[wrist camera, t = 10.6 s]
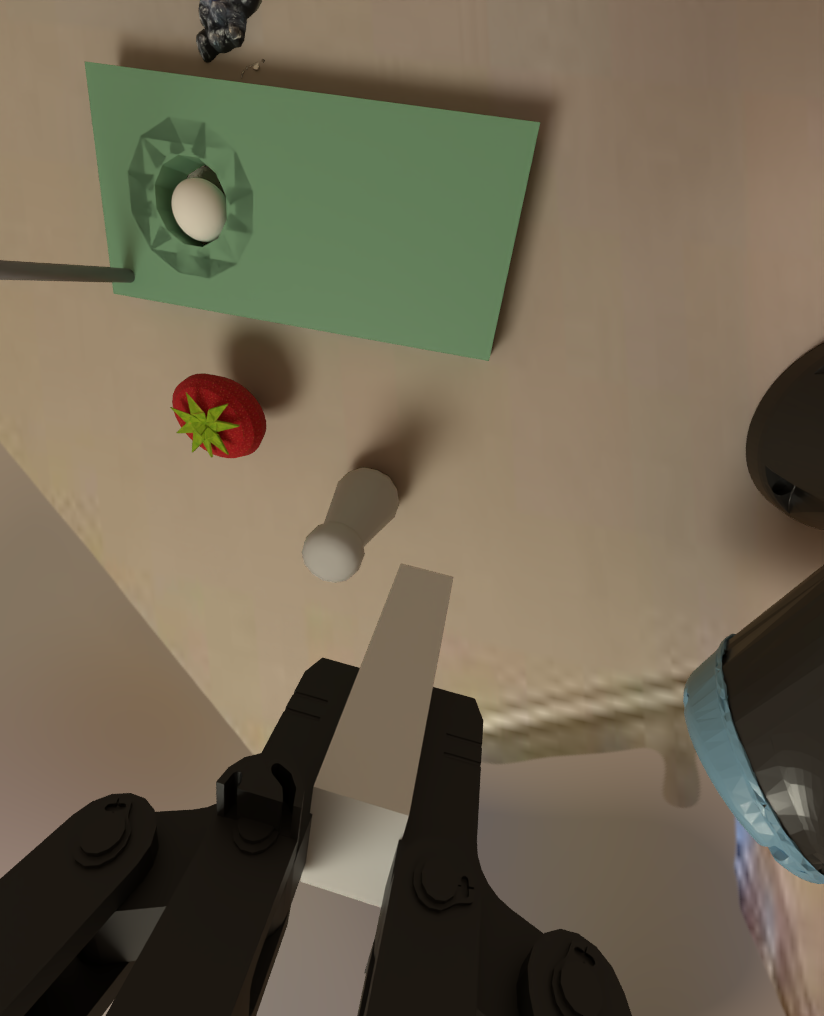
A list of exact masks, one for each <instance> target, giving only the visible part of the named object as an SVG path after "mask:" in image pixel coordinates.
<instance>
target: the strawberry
mask: <svg viewBox="0 0 824 1016" xmlns="http://www.w3.org/2000/svg"><path fill="white" fill-rule="evenodd" d="M172 403H173V408H172V407H170V408H171V409H172V410H173V411H174V413H175V416H176V418H177V420H178V422H179V424H180V426H181V427H182V428H181V429H180V430H179V431H178V432H177V433H186V434H187V435H188V436H189V437H190V438H191V439H192V440H193V443H192V452H194V451H195V450H196V449H197V448H198V447H199V446H200V447H201V448H203V449H204V450H206V451H208V453H209V455H210V456H211V457H213V454H214V455H217V456H220V457H225V458H237V457H242V456H246V455H249V454H251V453H253V452H255V450H256V449H257V448H258V447H259V445H260V443H261V441H262V439H263V437H264V435H265V432H266V419H265V415H264V412H263V410H262V408H261V406H260V405H259V403H258V401H257V400H256V399H255V398H254V396H253V395H252V394H251V393H250V392H249V391H248V390H247V389H246V388H244V387H243V386H242V385H240V384H239V383H237V382H235V381H233V380H231V379H228V378H225V377H221V376H216V375H210V374H195V375H192V376H189V377H188V378H187V379H185V380H184V381H182V382H181V383H180V384H179V385H178V386H177V387H176V389H175V391H174V393H173V400H172Z"/></svg>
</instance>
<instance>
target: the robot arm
mask: <svg viewBox="0 0 824 1016" xmlns="http://www.w3.org/2000/svg"><path fill="white" fill-rule="evenodd" d="M746 461H747V466H748V470H749V473H750V476H751V478H752V480H753V482H754V484H755V486H756V487H757V489H758V490H759V491H760V493H761V494H762V495H763V496H764V497H765V498H766V499H767V500H768V501H769V502H771V503H772V504H773V505H774V506H776V507H777V508H778V509H780V510H781V511H782V512H784V513H785V514H786V515H788V516H789V517H791V518H793V519H795V520H797V521H799V522H801V523H803V524H805V525H808V526H810V527H813V528H817V529H820V530H824V343H823V344H821V345H819V346H818V347H816V348H814V349H813V350H811V351H810V352H808V353H807V354H805V355H804V356H803V357H801V358H800V359H799V360H798V361H796V362H795V363H794V364H793V365H792V366H790V367H789V368H788V369H787V370H786V371H785V372H784V373H783V374H782V375H781V376H780V377H779V378H778V379H777V380H776V382H775V383H774V384H773V385H772V386H771V388H770V389H769V390H768V392H767V393H766V394H765V396H764V397H763V399H762V401H761V402H760V404H759V406H758V408H757V410H756V412H755V414H754V416H753V418H752V421H751V424H750V427H749V431H748V435H747V442H746ZM452 582H453V577H452V576H448V575H444V574H440V573H436V572H432V571H429V570H425V569H421V568H417V567H413V566H409V565H405V564H401V565H400V567H399V570H398V572H397V575H396V577H395V580H394V583H393V585H392V588H391V590H390V593H389V595H388V598H387V600H386V603H385V606H384V608H383V611H382V613H381V616H380V618H379V621H378V623H377V626H376V628H375V631H374V634H373V636H372V639H371V641H370V644H369V646H368V649H367V651H366V654H365V657H364V659H363V662H362V664H361V667H360V668H358V667H354V666H351V665H347V664H344V663H340V662H337V661H333V660H329V659H326V658H321V659H320V660H319V661H318V662H316V663H315V664H314V665H313V666H311V667H310V668H309V669H308V670H306V671H305V673H304V674H303V676H302V678H301V680H300V682H299V684H298V686H297V688H296V689H295V692H294V695H292V697H291V699H290V701H289V702H288V704H287V706H286V709H285V711H284V712H283V714H282V716H281V717H280V719H279V721H278V723H277V725H276V727H275V729H274V731H273V732H272V734H271V736H270V738H269V740H268V742H267V744H266V745H265V747H264V749H263V751H262V753H260V754H256V755H252V756H248V757H244V758H243V759H241V760H240V761H238V762H236V763H235V764H233V765H231V766H230V767H228V769H227V770H226V771H225V772H224V773H223V775H222V776H221V777H220V778H219V779H218V780H217V782H216V789H217V791H216V795H217V804H214V805H212V806H209V807H206V808H200V809H194V810H179V811H162V812H155V811H154V809H153V808H152V806H151V805H150V804H149V803H148V801H147V800H146V799H145V798H142V797H140V796H137V795H134V794H132V793H123V794H111V795H108V796H106V797H103V798H101V799H98V800H95V801H92V802H91V803H89V804H88V805H87V806H85V807H84V808H82V809H81V810H79V811H78V812H76V813H75V814H73V815H72V816H71V817H70V818H69V819H68V820H66V821H65V822H64V823H63V824H62V825H61V826H60V827H59V828H57V829H56V830H55V831H54V832H53V833H52V834H51V835H49V836H48V837H47V838H46V839H45V840H44V841H43V842H42V843H40V844H39V845H38V846H37V847H36V848H35V849H34V850H33V851H31V852H30V853H29V854H28V855H27V856H26V857H25V858H24V859H22V860H21V861H20V862H19V863H18V864H17V865H15V866H14V867H13V868H12V869H11V870H10V871H9V872H8V873H6V874H5V875H4V876H3V877H2V878H1V879H0V1016H102V1015H103V1014H104V1012H105V1011H106V1010H107V1008H108V1007H109V1006H110V1004H111V1003H112V1002H113V1003H112V1005H111V1007H110V1009H109V1011H108V1012H107V1014H106V1016H256V1014H257V1011H258V1008H259V1006H260V1003H261V1000H262V997H263V994H264V991H265V988H266V985H267V982H268V979H269V977H270V974H271V971H272V968H273V965H274V962H275V959H276V956H277V953H278V951H279V948H280V945H281V942H282V939H283V936H284V933H285V930H286V927H287V924H288V918H289V913H290V907H291V903H292V900H293V898H294V895H295V892H296V889H297V886H298V883H299V880H300V878H301V882H304V883H307V884H310V885H313V886H316V887H319V888H322V889H326V890H328V891H331V892H335V893H338V894H341V895H344V896H347V897H350V898H353V899H356V900H359V901H362V902H365V903H368V904H371V905H375V906H378V907H381V911H380V916H379V921H378V925H377V931H376V935H375V939H374V942H373V946H372V949H371V953H370V956H369V959H368V963H367V966H366V969H365V973H366V977H365V981H364V987H363V991H362V996H361V1001H360V1006H359V1010H358V1015H357V1016H632V1015H631V1012H630V1009H629V1006H628V1003H627V1000H626V997H625V993H624V991H623V989H622V987H621V985H620V983H619V981H618V978H617V976H616V974H615V972H614V970H613V968H612V966H611V965H610V964H609V962H608V961H607V960H606V959H605V957H604V956H603V955H602V953H601V952H600V951H599V950H598V949H597V947H596V946H594V945H593V944H592V943H590V942H589V941H588V940H586V939H584V937H582V936H580V935H579V934H577V933H574V932H570V931H566V930H563V929H559V930H554V931H551V932H547V933H544V934H543V933H542V932H541V931H539V930H538V929H537V928H535V927H534V926H533V925H531V924H530V923H529V922H527V921H526V920H525V919H523V918H522V917H521V916H519V915H518V914H517V913H515V912H514V911H513V910H511V909H510V908H509V907H508V906H507V905H506V904H505V903H504V902H503V901H501V900H500V899H499V898H498V896H497V895H496V894H495V892H494V891H493V890H492V888H491V887H490V886H489V884H488V882H487V880H486V878H485V876H484V874H483V872H482V870H481V866H480V863H479V859H478V854H477V829H478V809H479V790H480V771H481V767H480V765H481V753H482V748H481V746H482V735H483V719H482V716H481V713H480V711H479V708H478V705H477V703H476V700H475V699H474V698H471V697H467V696H464V695H460V694H456V693H453V692H449V691H446V690H442V689H438V688H435V687H433V684H434V678H435V673H436V668H437V662H438V657H439V652H440V646H441V641H442V636H443V630H444V625H445V619H446V614H447V609H448V603H449V598H450V593H451V587H452ZM683 702H684V706H685V710H684V715H685V720H686V725H687V728H688V731H689V734H690V737H691V740H692V743H693V745H694V748H695V750H696V752H697V754H698V757H699V759H700V761H701V763H702V765H703V766H704V768H705V770H706V772H707V774H708V776H709V777H710V779H711V781H712V783H713V784H714V786H715V788H716V789H717V791H718V793H719V794H720V796H721V797H722V799H723V800H724V801H725V803H726V805H727V806H728V807H729V809H730V810H731V811H732V813H733V814H734V816H735V817H736V818H737V820H738V821H739V822H740V823H741V825H742V826H743V827H744V828H745V829H746V830H747V832H748V833H749V834H750V835H751V836H752V837H753V838H754V839H755V841H756V842H757V843H758V844H760V845H762V846H767V847H768V848H769V850H770V852H771V854H772V855H773V857H774V859H775V860H776V861H777V862H778V863H779V864H781V865H782V866H783V867H784V868H786V869H787V870H788V871H790V872H791V873H793V874H794V875H796V876H798V877H799V878H801V879H804V880H806V881H809V882H812V883H816V884H824V565H823V566H822V567H820V568H819V569H818V570H817V571H815V572H814V573H813V574H812V575H810V576H809V577H808V578H807V579H805V580H804V581H803V582H801V583H800V584H799V585H798V586H796V587H795V588H794V589H793V590H791V591H790V592H789V593H788V594H786V595H785V596H784V597H783V598H781V599H780V600H779V601H778V602H776V603H775V604H774V605H772V606H771V607H770V608H769V609H767V610H766V611H765V612H764V613H762V614H761V615H760V616H759V617H757V618H756V619H755V620H754V621H752V622H751V623H750V624H749V625H747V626H746V627H745V628H743V629H742V630H741V631H740V632H738V633H737V634H731V635H729V636H728V637H726V638H725V639H724V640H723V641H722V642H721V644H720V646H719V648H718V649H717V650H716V651H715V652H714V653H713V654H712V655H711V656H710V657H709V658H708V659H707V660H705V661H704V662H703V663H702V664H701V665H700V666H699V667H698V668H697V669H696V670H694V671H693V672H692V674H691V675H690V676H689V678H688V680H687V682H686V685H685V688H684V700H683ZM301 875H302V876H301ZM114 999H115V1000H114ZM113 1000H114V1001H113Z"/></svg>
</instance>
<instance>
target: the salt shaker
mask: <svg viewBox="0 0 824 1016" xmlns="http://www.w3.org/2000/svg"><path fill="white" fill-rule="evenodd" d="M398 506H399V499H398V492H397V489H396V487H395V486H394V484H393V482H392V481H391V479H390V478H389V476H388V475H385V474H383V473H381V472H380V471H378V470H374V469H370V468H364V467H363V468H360V469H356V470H353V471H350V472H348V473H347V474H346V475H345V476H344V477H343V478H342V479H341V480H340V481H339V482H338V484H337V487H336V490H335V493H334V496H333V499H332V502H331V504H330V507H329V510H328V513H327V516H326V519H325V522H324V524H321V525H318V526H317V527H316V528H315V529H314V530H313V531H312V532H311V533H310V534H309V535H308V536H307V537H306V540H305V542H304V546H303V550H302V555H303V560H304V564H305V565H306V566H307V568H308V569H309V570H310V572H311V573H312V574H314V575H315V576H317V577H318V578H320V579H322V580H323V581H329V582H334V583H336V582H341V581H346V580H348V579H349V578H350V577H351V576H353V575H354V574H355V573H356V572H357V571H358V570H359V568H360V565H361V562H362V560H363V557H364V554H365V553H364V546H365V545H366V544H367V543H368V542H369V541H370V540H371V539H372V538H373V537H374V536H375V535H376V534H377V533H378V532H379V531H380V530H381V529H382V528H383V527H385V526H386V525H387V524H388V523H389V522H390V521H391V520H392V519H393V518H394V517H395V514H396V511H397V509H398Z"/></svg>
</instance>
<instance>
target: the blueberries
mask: <svg viewBox="0 0 824 1016" xmlns="http://www.w3.org/2000/svg"><path fill="white" fill-rule="evenodd" d="M261 2H262V0H200V4H199V17H200V21H201V24H202V25H203V26H204V27H205V29H203V30H202V31H200V32H199V33H198V34H197V37H196V42H197V45H198V50H199V52H200V54H201V56H202V58H203V60H204V61H205V62H211V61H212V60H213V59H214V58H215V57H216V56H217V55H218V54H219V53H227V52H229V51H231V50H232V49H234V48H236V47H241V45H242V43H243V41H244V38H245V31H246V24H247V19H248V18H249V17H250V16H251V15H252V14H253V13H254V12H256V11H257V9H258V8H259V6H260V4H261ZM261 62H263V63H264V62H265V60H264V59H262V61H261ZM251 66H252V65H250V66H249V67H251ZM253 66H254V67H253V69H258V67H259V66H258V63H255V64H253ZM246 68H247V67H246ZM243 73H244V70H243V71H242V74H243ZM242 74H241V76H242ZM241 78H242V77H241Z"/></svg>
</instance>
